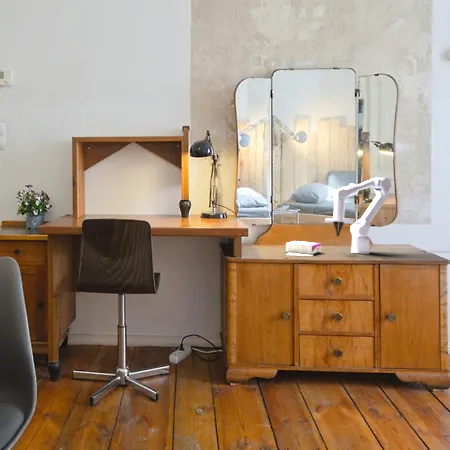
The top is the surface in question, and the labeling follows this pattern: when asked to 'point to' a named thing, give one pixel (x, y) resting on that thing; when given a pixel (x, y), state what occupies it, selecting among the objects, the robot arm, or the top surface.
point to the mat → (298, 254)
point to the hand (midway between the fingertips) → (337, 235)
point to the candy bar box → (303, 247)
